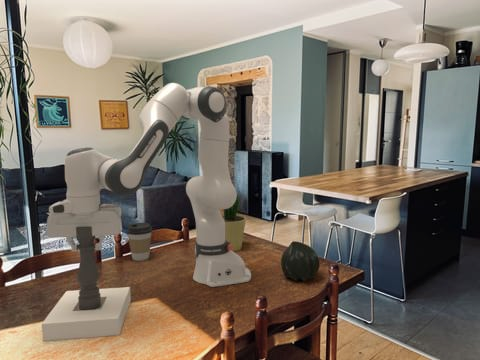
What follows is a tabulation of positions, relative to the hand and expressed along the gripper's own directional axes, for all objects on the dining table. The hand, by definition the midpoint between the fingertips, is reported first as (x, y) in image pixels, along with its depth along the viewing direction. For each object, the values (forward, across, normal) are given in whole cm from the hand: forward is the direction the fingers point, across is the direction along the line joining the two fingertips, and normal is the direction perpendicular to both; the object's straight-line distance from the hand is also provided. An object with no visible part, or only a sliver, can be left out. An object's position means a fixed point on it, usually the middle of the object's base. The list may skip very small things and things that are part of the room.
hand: (87, 250), depth 106 cm
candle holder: (+18, 0, 0) cm, 18 cm away
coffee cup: (+22, -8, -51) cm, 56 cm away
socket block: (+22, 0, 0) cm, 22 cm away
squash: (+22, -72, -21) cm, 78 cm away
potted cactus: (+22, -49, -59) cm, 80 cm away
